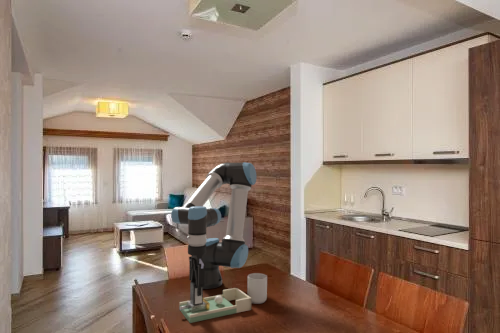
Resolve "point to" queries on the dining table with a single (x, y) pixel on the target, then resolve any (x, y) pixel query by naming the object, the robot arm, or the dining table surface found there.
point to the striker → (191, 303)
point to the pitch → (220, 306)
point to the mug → (257, 288)
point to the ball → (218, 300)
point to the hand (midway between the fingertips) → (196, 301)
